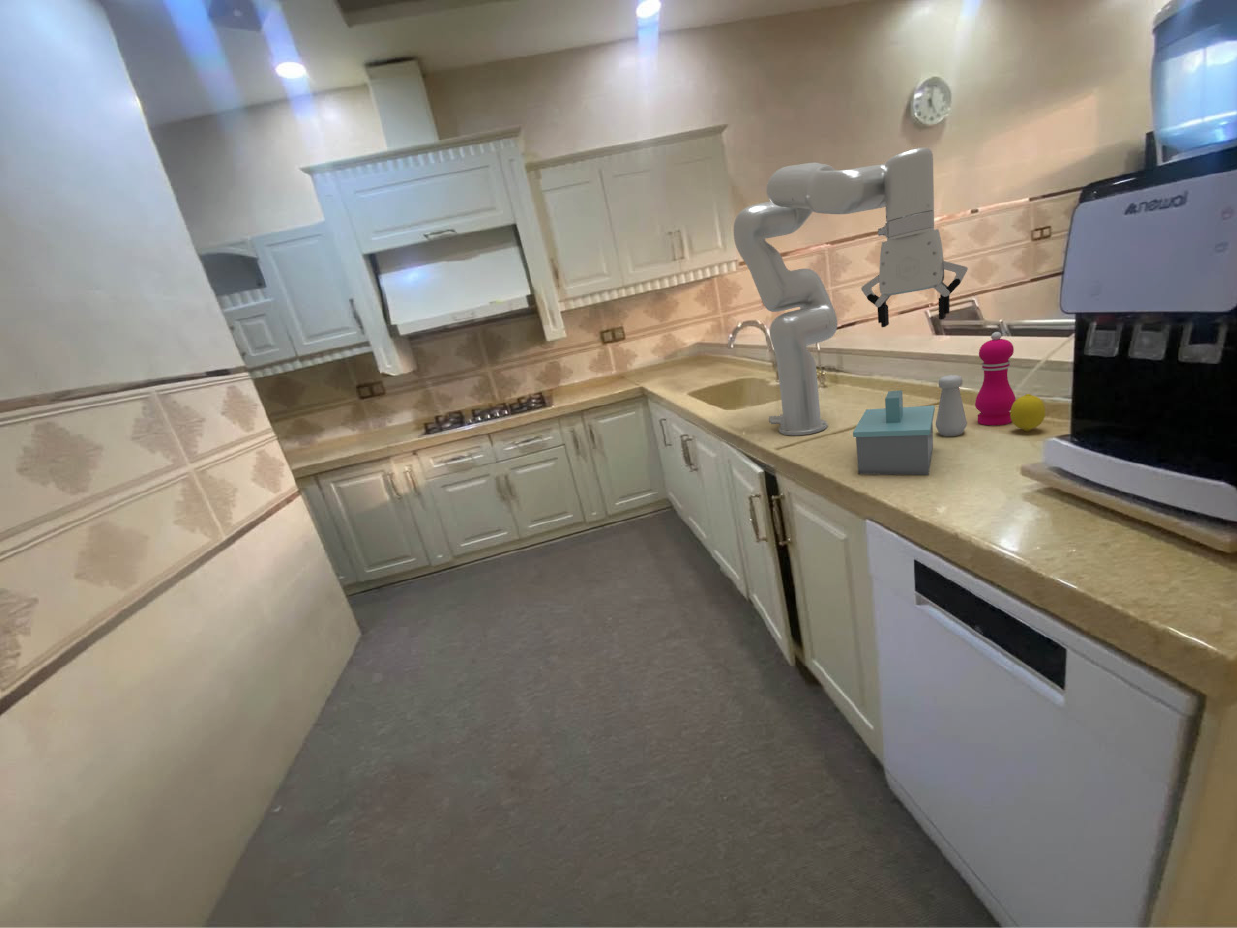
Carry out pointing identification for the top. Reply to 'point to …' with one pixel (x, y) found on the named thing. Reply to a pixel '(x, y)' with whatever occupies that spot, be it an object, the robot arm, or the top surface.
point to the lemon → (1027, 412)
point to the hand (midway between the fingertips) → (912, 322)
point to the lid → (895, 419)
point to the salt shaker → (950, 407)
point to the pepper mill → (995, 382)
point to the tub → (895, 454)
